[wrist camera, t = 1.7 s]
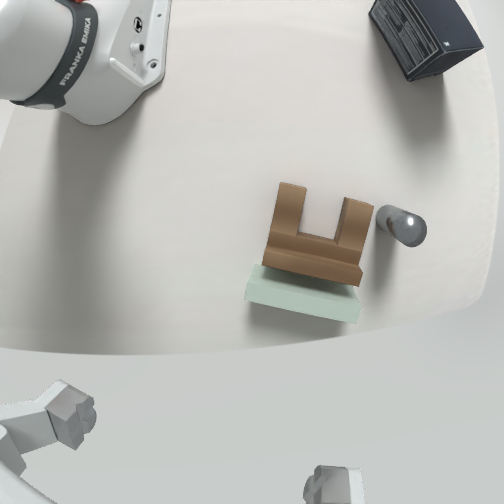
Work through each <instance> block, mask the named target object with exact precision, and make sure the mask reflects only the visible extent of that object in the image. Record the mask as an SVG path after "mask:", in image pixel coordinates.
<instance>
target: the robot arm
mask: <svg viewBox="0 0 504 504" xmlns="http://www.w3.org/2000/svg"><path fill="white" fill-rule="evenodd" d="M170 6H171V0H0V99H6V100H10V101H11V102H12V103H14V104H16V105H22V106H25V107H28V108H36V109H45V110H52V109H57V110H60V111H63V112H65V113H67V114H70V115H71V116H73V117H75V118H76V119H77V120H79V121H80V122H82V123H84V124H87V125H101V124H105V123H108V122H110V121H112V120H114V119H116V118H117V117H119V116H120V115H122V114H123V113H124V112H125V111H126V110H127V109H128V108H129V107H130V106H131V105H132V104H133V103H134V102H135V100H136V99H137V98H138V97H139V96H140V95H141V94H142V93H143V92H144V91H145V90H147V89H149V88H151V87H152V86H154V85H155V84H157V83H158V82H159V81H161V80H162V78H163V76H164V71H165V57H166V44H167V33H168V24H169V15H170ZM155 64H157V65H156V67H155V68H153V66H154V65H155ZM93 405H94V400H93V398H92V397H90V396H89V395H87V394H85V393H83V392H81V391H80V390H78V389H76V388H74V387H72V386H71V385H69V384H68V383H66V382H64V381H62V380H57V381H55V382H54V383H53V384H52V385H51V386H50V387H49V388H48V389H47V390H46V391H45V392H44V393H42V394H41V395H40V396H39V397H38V398H37V399H36V400H35V401H32V400H27V401H22V402H16V403H11V404H5V405H0V504H57V503H55V502H54V501H52V500H50V499H49V498H48V497H46V496H45V495H44V494H42V493H41V492H39V491H38V490H37V489H35V488H34V487H32V486H31V485H30V484H28V483H27V482H26V481H25V480H23V479H22V478H21V477H20V475H21V473H22V472H23V471H24V470H25V468H26V463H25V462H24V460H23V458H22V457H21V454H24V453H27V452H30V451H33V450H35V449H38V448H41V447H44V446H46V445H49V444H52V443H55V442H57V441H60V442H62V443H63V444H65V445H67V446H68V447H70V448H72V449H74V450H76V449H77V448H78V447H79V445H80V444H81V443H82V442H83V440H84V434H86V433H89V432H90V431H91V430H92V428H93V427H94V425H95V422H96V412H95V410H94V409H93V407H92V406H93ZM303 498H304V500H305V501H306V502H307V503H306V504H365V496H364V488H363V481H362V474H361V470H360V469H359V468H345V467H335V466H322V465H319V466H317V467H316V469H315V470H314V475H312V476H310V477H309V478H308V480H307V482H306V484H305V487H304V493H303Z"/></svg>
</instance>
